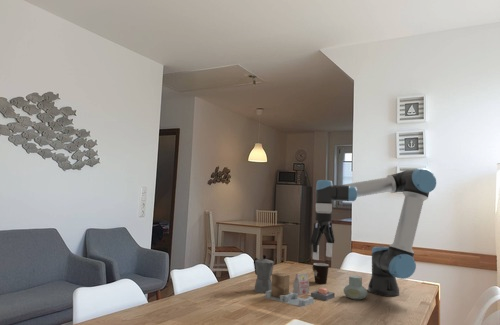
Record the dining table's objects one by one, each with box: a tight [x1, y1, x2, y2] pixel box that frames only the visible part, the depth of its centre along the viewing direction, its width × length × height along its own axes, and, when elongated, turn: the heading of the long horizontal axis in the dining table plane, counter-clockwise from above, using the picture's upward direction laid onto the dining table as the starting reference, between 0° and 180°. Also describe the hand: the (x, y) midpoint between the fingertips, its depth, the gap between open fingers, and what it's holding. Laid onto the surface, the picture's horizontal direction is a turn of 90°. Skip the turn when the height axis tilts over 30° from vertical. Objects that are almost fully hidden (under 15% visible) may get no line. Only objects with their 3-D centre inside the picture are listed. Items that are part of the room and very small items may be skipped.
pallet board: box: [263, 290, 317, 308], centre depth 164 cm, size 21×12×3 cm, turn 52°
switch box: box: [310, 289, 336, 301], centre depth 170 cm, size 8×8×3 cm
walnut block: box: [271, 272, 290, 298], centre depth 167 cm, size 7×4×10 cm, turn 52°
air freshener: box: [343, 275, 368, 301], centre depth 175 cm, size 11×8×10 cm
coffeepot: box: [253, 254, 275, 294], centre depth 179 cm, size 15×9×18 cm, turn 33°
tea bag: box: [292, 272, 310, 296], centre depth 176 cm, size 4×7×10 cm, turn 125°
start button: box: [318, 287, 328, 294], centre depth 170 cm, size 4×4×4 cm
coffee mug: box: [312, 262, 330, 285], centre depth 206 cm, size 12×9×10 cm
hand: (322, 258), depth 172 cm, fingers open, 13 cm apart
